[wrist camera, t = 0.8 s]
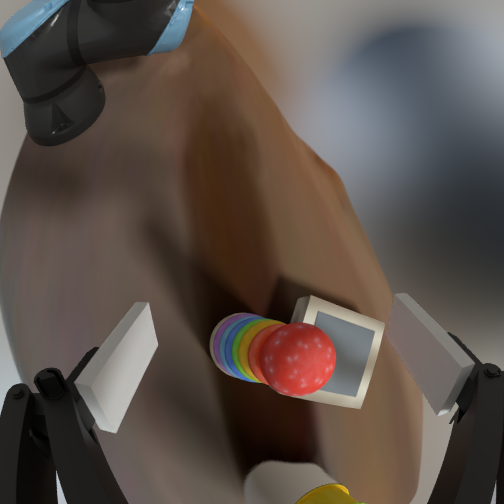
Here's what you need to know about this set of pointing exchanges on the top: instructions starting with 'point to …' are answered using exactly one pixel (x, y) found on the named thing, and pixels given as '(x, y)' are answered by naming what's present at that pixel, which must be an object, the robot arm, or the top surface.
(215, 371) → the top surface
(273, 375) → the stacking toy
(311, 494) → the stacking cups
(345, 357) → the plinth
